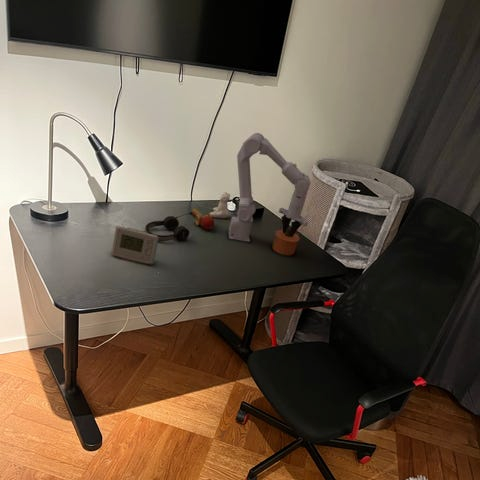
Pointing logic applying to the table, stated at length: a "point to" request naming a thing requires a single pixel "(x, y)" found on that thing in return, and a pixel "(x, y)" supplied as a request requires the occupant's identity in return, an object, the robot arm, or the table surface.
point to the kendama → (203, 219)
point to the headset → (170, 228)
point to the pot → (284, 246)
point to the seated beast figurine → (221, 207)
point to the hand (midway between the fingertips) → (287, 234)
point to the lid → (287, 235)
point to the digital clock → (134, 245)
